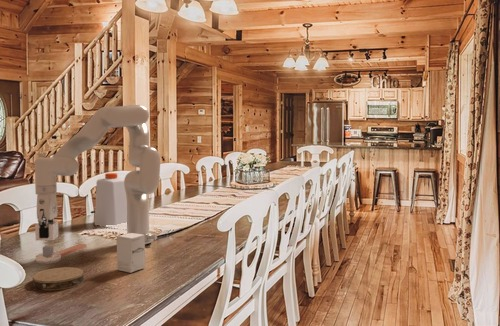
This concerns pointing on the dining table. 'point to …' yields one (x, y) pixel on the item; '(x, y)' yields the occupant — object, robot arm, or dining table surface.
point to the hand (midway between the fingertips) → (47, 235)
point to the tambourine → (58, 278)
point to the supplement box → (130, 252)
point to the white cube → (51, 231)
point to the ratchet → (56, 254)
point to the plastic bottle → (110, 201)
